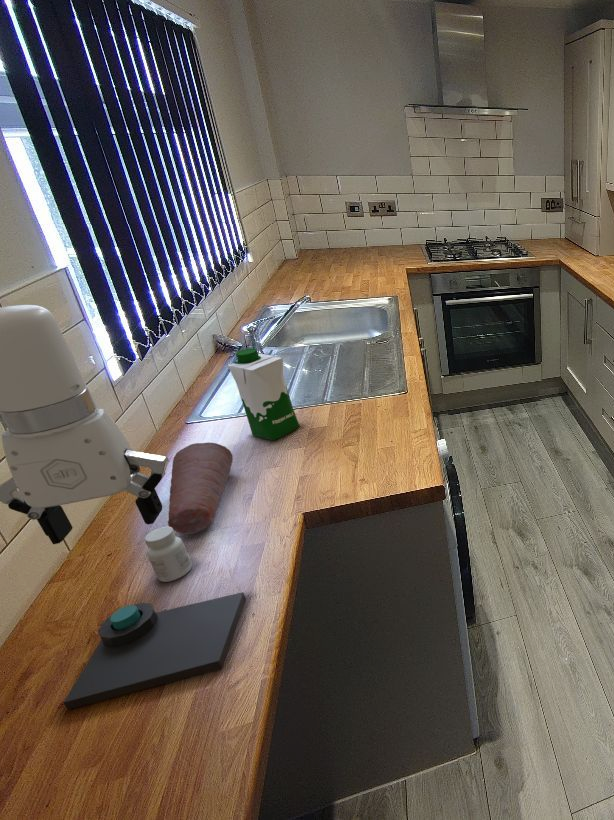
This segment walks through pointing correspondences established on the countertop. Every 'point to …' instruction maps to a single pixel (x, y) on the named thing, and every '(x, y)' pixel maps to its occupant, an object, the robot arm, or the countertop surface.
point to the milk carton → (264, 394)
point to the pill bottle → (167, 554)
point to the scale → (158, 649)
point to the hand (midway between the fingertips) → (109, 527)
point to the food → (197, 486)
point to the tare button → (125, 617)
